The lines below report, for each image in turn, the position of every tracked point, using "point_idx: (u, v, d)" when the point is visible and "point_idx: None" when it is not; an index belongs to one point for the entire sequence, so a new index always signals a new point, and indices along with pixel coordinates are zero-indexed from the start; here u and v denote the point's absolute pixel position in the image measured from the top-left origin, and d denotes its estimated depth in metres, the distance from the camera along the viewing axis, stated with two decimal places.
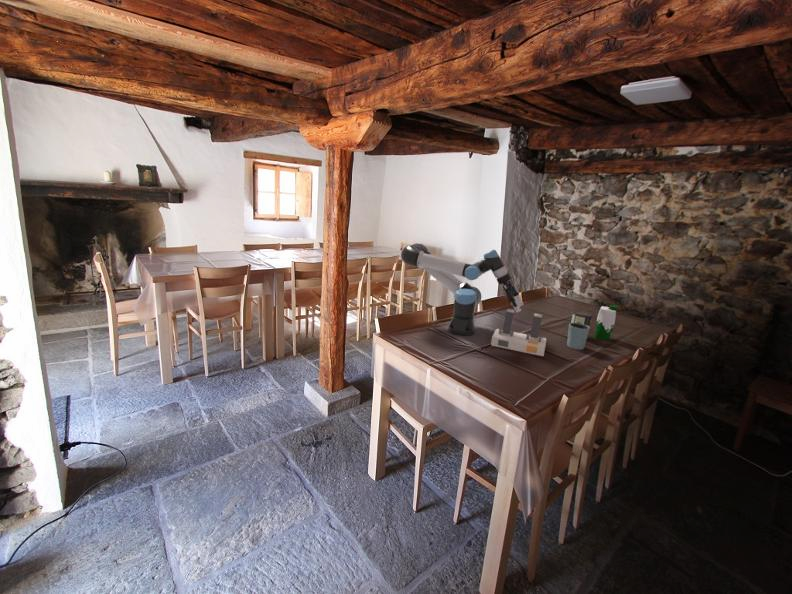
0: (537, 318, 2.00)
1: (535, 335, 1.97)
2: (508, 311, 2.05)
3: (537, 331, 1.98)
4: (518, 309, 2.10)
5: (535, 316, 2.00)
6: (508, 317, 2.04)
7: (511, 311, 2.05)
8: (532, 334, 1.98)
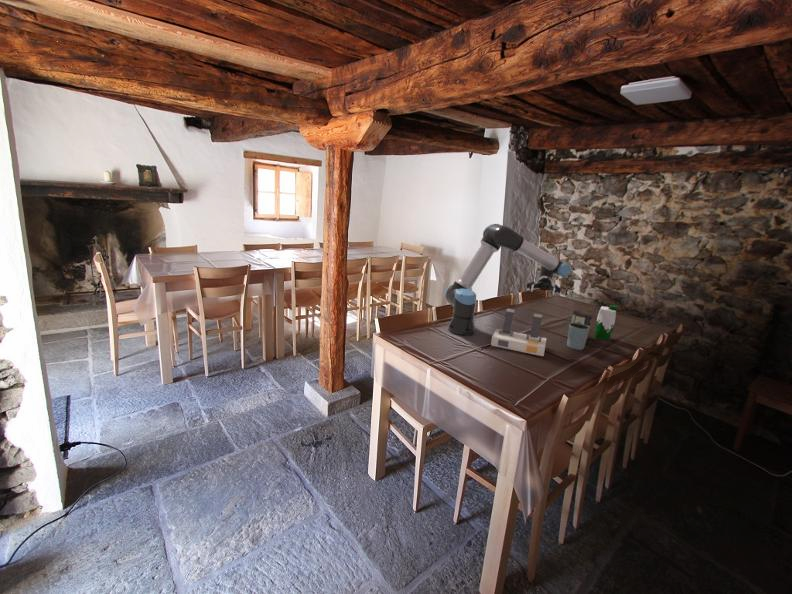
0: (537, 318, 2.00)
1: (535, 335, 1.97)
2: (508, 311, 2.05)
3: (537, 331, 1.98)
4: (554, 292, 2.05)
5: (535, 316, 2.00)
6: (508, 317, 2.04)
7: (511, 311, 2.04)
8: (532, 334, 1.98)
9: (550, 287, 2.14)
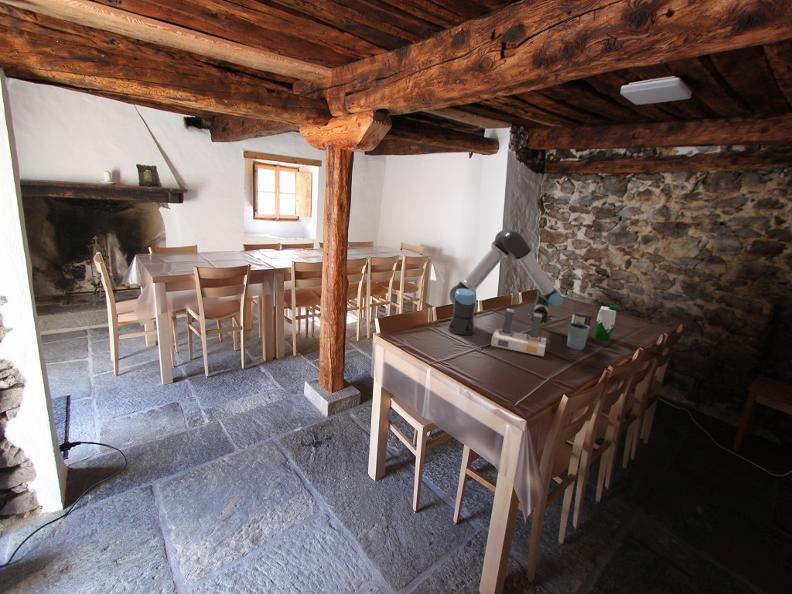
0: (537, 318, 1.99)
1: (535, 335, 1.97)
2: (508, 311, 2.05)
3: (537, 331, 1.97)
4: None
5: (535, 316, 1.99)
6: (508, 317, 2.04)
7: (511, 311, 2.04)
8: (532, 334, 1.98)
9: None
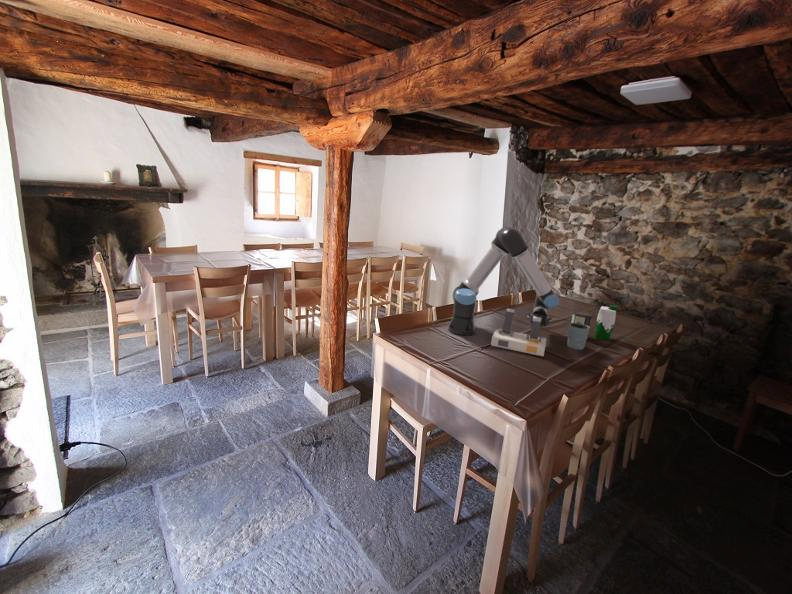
0: (536, 322, 1.91)
1: (535, 337, 1.96)
2: (508, 311, 2.05)
3: (536, 334, 1.94)
4: None
5: (534, 321, 1.91)
6: (508, 317, 2.04)
7: (511, 311, 2.04)
8: (531, 336, 1.96)
9: None
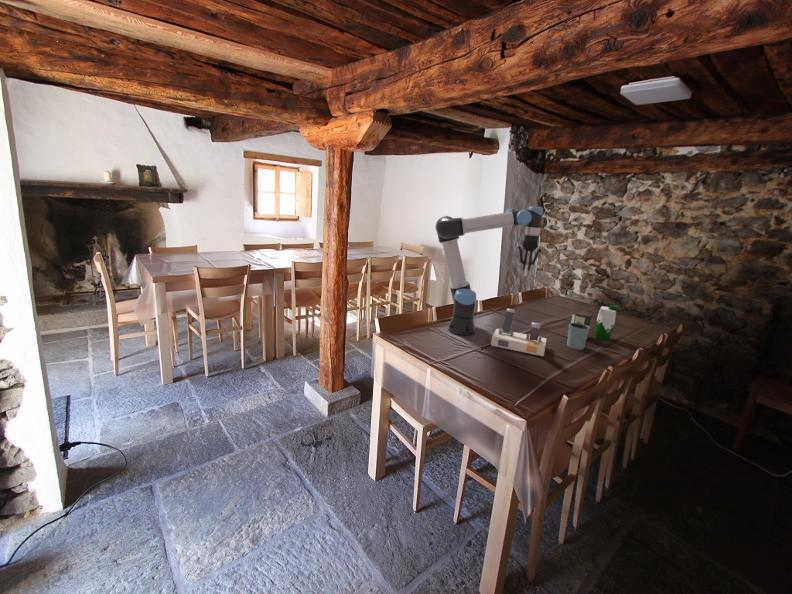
0: (535, 328, 1.89)
1: (534, 339, 1.95)
2: (508, 311, 2.05)
3: (536, 337, 1.94)
4: None
5: (532, 327, 1.89)
6: (508, 317, 2.04)
7: (511, 311, 2.04)
8: (531, 338, 1.96)
9: None
